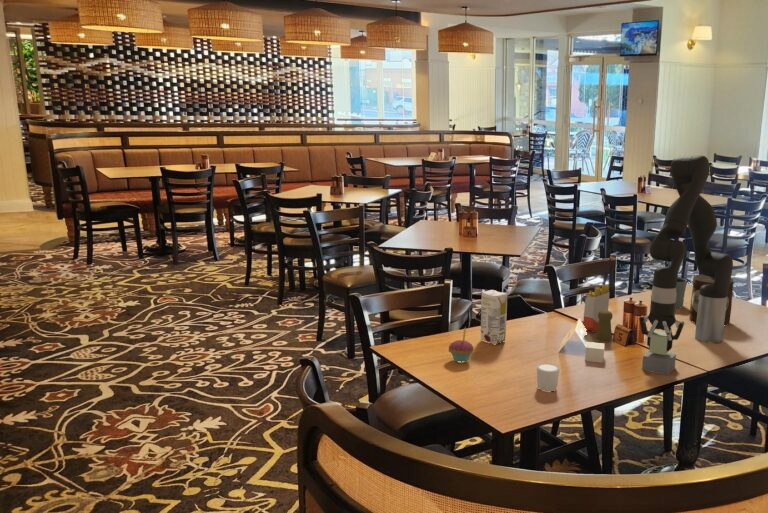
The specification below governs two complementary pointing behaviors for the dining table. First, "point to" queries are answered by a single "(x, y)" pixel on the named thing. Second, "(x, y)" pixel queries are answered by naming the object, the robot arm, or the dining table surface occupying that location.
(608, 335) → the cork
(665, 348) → the sage block
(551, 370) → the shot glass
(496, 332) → the juice carton
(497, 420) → the dining table surface
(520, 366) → the dining table surface
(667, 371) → the slate block
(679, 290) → the green tapered bucket
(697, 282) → the wooden container
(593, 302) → the french fries container
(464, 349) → the cupcake
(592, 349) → the cream block
